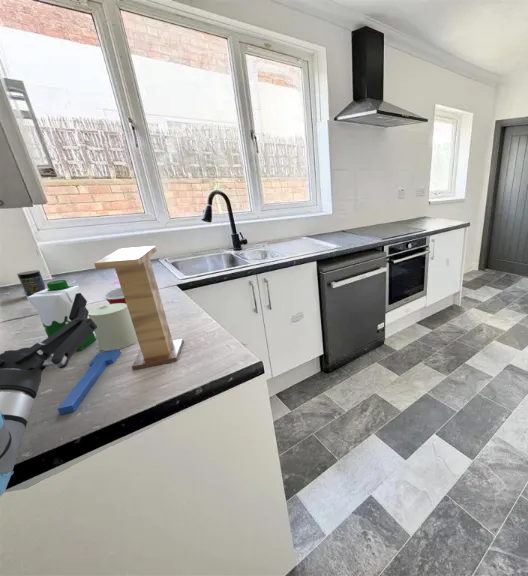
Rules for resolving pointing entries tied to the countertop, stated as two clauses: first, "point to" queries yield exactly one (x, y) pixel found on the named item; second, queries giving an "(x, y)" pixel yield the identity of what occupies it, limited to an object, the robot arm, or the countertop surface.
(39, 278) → the supplement container
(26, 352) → the robot arm
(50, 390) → the countertop surface
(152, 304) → the stand
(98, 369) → the blue long flat bar
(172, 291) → the countertop surface
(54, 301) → the milk carton
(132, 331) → the can
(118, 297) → the plastic cup
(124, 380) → the countertop surface
